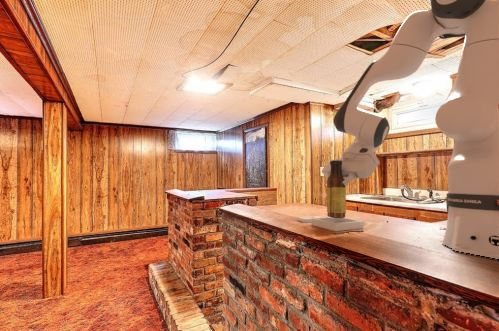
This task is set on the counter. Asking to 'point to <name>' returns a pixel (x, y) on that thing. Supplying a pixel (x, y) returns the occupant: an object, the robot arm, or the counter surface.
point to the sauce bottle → (336, 191)
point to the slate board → (300, 221)
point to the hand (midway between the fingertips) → (335, 183)
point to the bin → (338, 224)
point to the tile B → (304, 219)
